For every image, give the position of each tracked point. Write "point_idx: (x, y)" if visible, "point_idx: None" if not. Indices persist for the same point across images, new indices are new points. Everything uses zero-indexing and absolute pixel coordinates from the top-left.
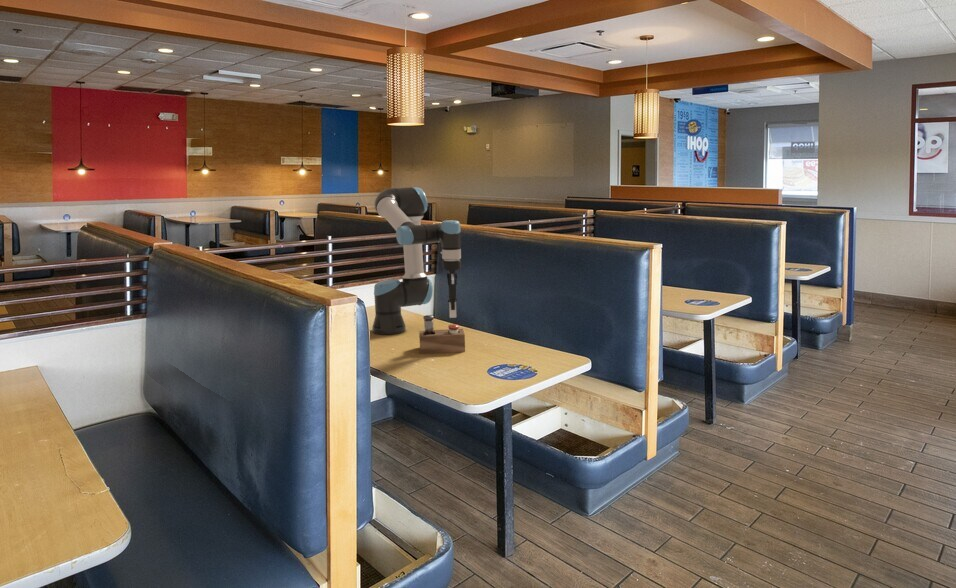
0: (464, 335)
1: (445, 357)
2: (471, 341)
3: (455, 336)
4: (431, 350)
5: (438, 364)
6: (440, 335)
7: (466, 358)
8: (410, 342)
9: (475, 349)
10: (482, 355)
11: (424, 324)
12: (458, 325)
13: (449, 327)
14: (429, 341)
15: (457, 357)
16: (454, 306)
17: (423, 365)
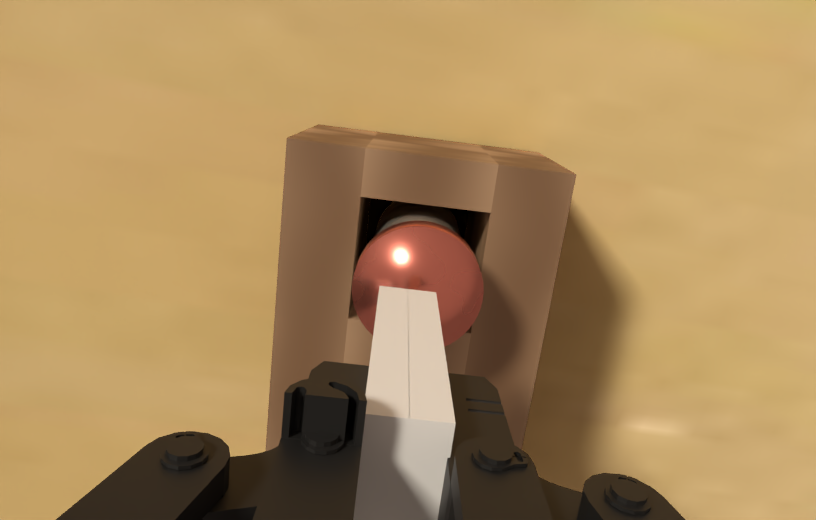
0: (572, 174)
1: (631, 332)
2: (187, 16)
3: (552, 270)
4: None
5: (790, 408)
6: (516, 419)
7: (731, 179)
8: None
9: (483, 40)
10: (702, 20)
11: None
12: (432, 234)
13: (443, 341)
14: None
15: (670, 244)
16: (505, 418)
17: (765, 502)
